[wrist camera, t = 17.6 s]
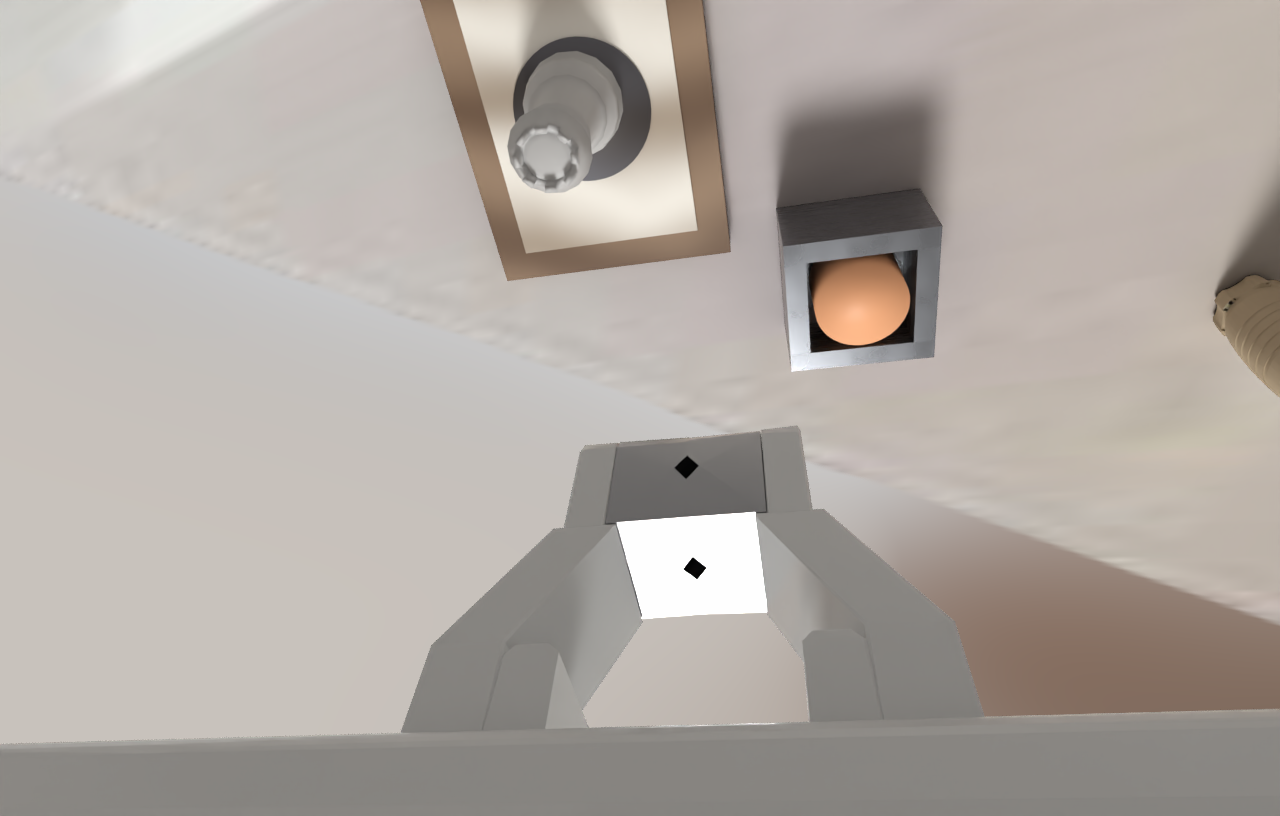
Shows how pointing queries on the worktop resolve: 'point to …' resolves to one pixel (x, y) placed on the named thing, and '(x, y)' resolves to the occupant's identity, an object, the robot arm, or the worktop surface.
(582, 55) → the rook chess piece
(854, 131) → the worktop surface
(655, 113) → the board
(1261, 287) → the handle
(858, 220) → the button housing
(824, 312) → the button
